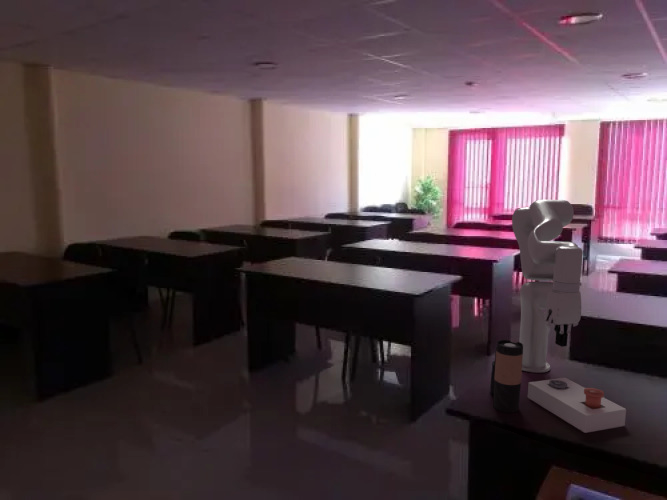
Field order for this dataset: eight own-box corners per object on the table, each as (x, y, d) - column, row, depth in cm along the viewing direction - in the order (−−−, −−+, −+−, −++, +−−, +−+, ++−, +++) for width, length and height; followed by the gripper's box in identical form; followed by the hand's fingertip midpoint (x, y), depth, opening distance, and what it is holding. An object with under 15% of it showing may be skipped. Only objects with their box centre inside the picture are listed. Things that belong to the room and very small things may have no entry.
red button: (578, 403, 156) (579, 389, 155) (592, 401, 157) (594, 386, 157) (592, 411, 151) (593, 396, 150) (607, 409, 153) (608, 394, 152)
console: (527, 397, 170) (528, 382, 170) (563, 392, 175) (564, 377, 174) (584, 432, 148) (586, 415, 147) (624, 425, 152) (626, 409, 152)
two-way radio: (490, 388, 177) (492, 344, 175) (504, 390, 176) (507, 345, 174) (490, 395, 172) (492, 350, 170) (504, 397, 171) (507, 351, 168)
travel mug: (499, 413, 159) (503, 348, 156) (488, 402, 166) (492, 340, 163) (524, 412, 160) (528, 347, 157) (511, 401, 168) (515, 339, 164)
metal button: (544, 394, 169) (545, 380, 169) (558, 392, 171) (559, 379, 170) (556, 401, 164) (557, 387, 164) (570, 399, 166) (571, 385, 165)
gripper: (576, 282, 168) (571, 338, 171) (537, 285, 164) (532, 343, 167) (595, 288, 161) (589, 346, 164) (554, 291, 157) (549, 351, 160)
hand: (560, 344), depth 166 cm, fingers closed
